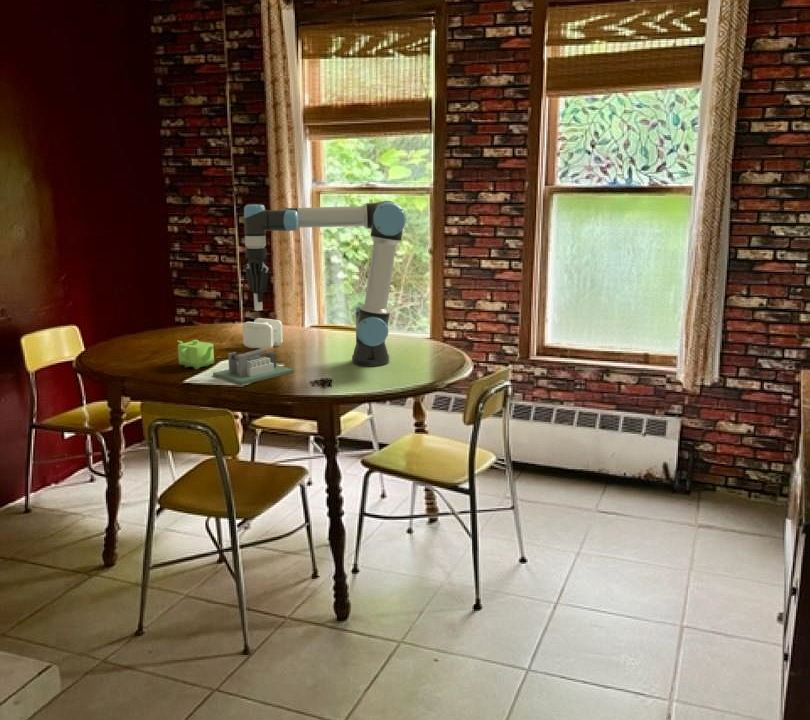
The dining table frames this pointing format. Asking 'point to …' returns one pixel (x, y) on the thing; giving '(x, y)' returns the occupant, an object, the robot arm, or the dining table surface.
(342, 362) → the dining table surface
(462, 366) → the dining table surface
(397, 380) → the dining table surface
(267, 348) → the orange-tipped flat strip
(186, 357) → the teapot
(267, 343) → the cable organizer
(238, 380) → the heatsink board
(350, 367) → the dining table surface
